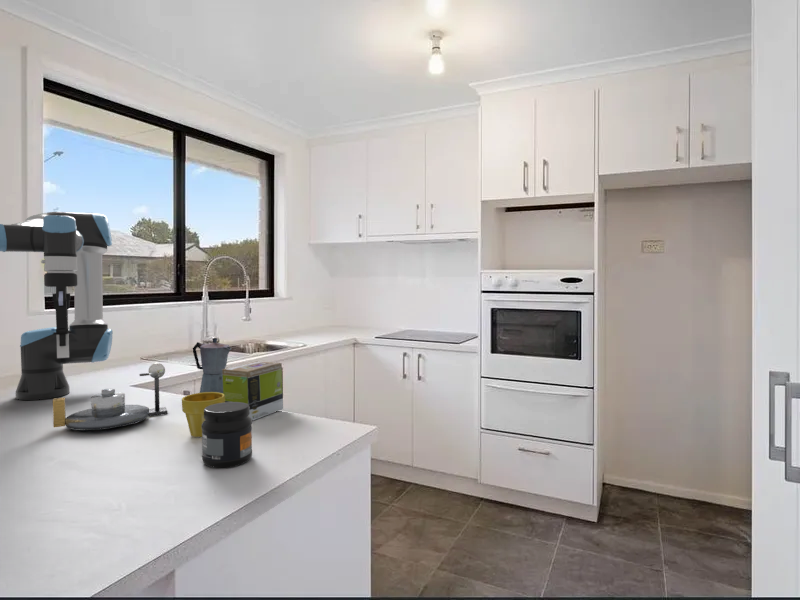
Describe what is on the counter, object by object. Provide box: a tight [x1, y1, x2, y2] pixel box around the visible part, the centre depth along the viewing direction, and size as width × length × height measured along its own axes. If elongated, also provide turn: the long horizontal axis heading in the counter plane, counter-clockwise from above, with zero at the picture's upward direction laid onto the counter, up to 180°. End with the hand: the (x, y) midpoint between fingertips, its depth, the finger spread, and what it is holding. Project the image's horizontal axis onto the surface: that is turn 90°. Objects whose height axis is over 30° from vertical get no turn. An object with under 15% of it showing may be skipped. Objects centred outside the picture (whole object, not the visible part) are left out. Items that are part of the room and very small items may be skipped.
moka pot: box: [192, 337, 232, 393], centre depth 170 cm, size 10×15×20 cm, turn 78°
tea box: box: [222, 360, 284, 421], centre depth 145 cm, size 15×10×15 cm, turn 154°
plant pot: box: [181, 392, 225, 438], centre depth 127 cm, size 10×10×10 cm
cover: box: [90, 388, 126, 417], centre depth 136 cm, size 8×8×7 cm
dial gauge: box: [138, 362, 169, 417], centre depth 146 cm, size 5×7×15 cm
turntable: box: [52, 397, 150, 431], centre depth 135 cm, size 20×22×7 cm
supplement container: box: [201, 402, 253, 469], centre depth 108 cm, size 10×10×12 cm
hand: (63, 357), depth 136 cm, fingers closed
